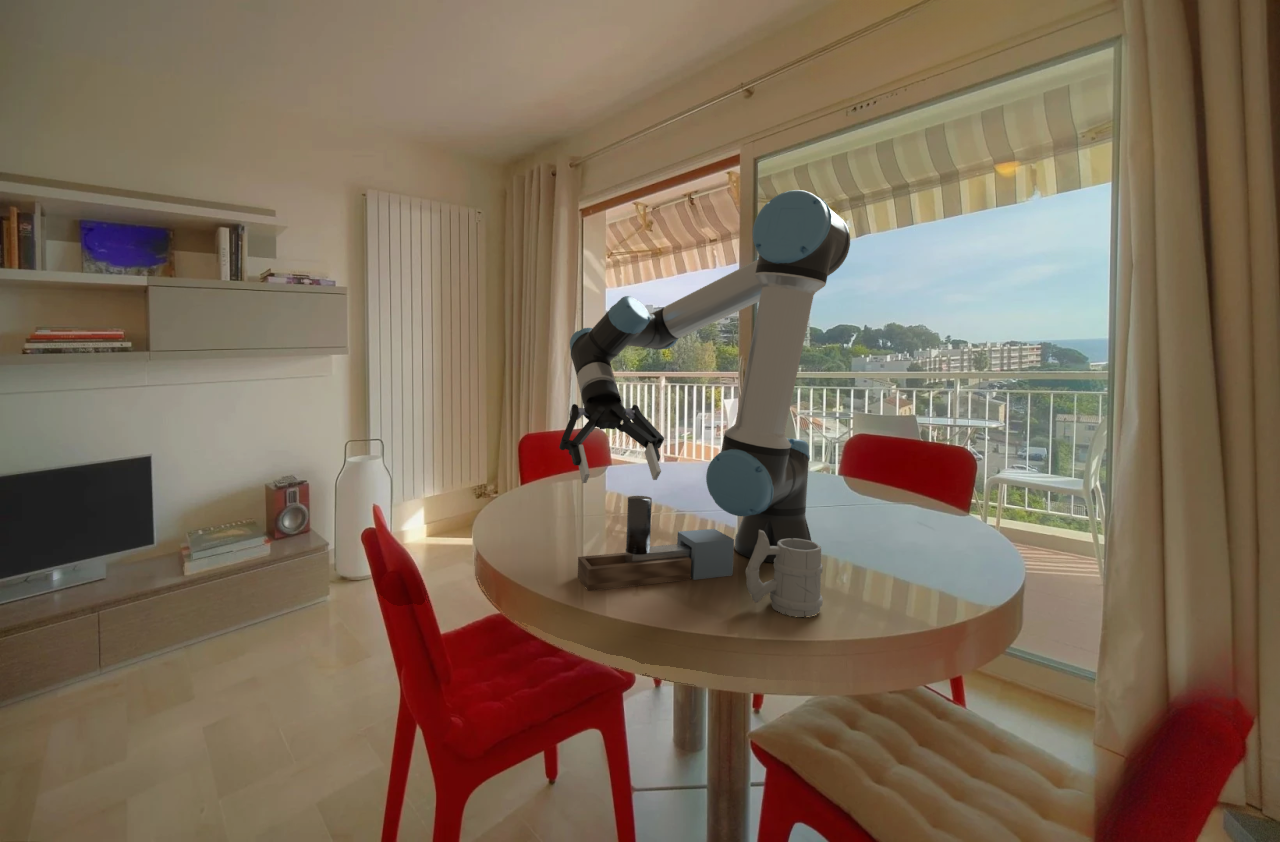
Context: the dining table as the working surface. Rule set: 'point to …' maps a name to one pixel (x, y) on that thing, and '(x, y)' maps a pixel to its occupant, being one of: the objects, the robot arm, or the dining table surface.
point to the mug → (788, 575)
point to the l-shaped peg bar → (647, 535)
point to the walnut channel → (629, 571)
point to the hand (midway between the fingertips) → (622, 477)
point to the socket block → (709, 553)
